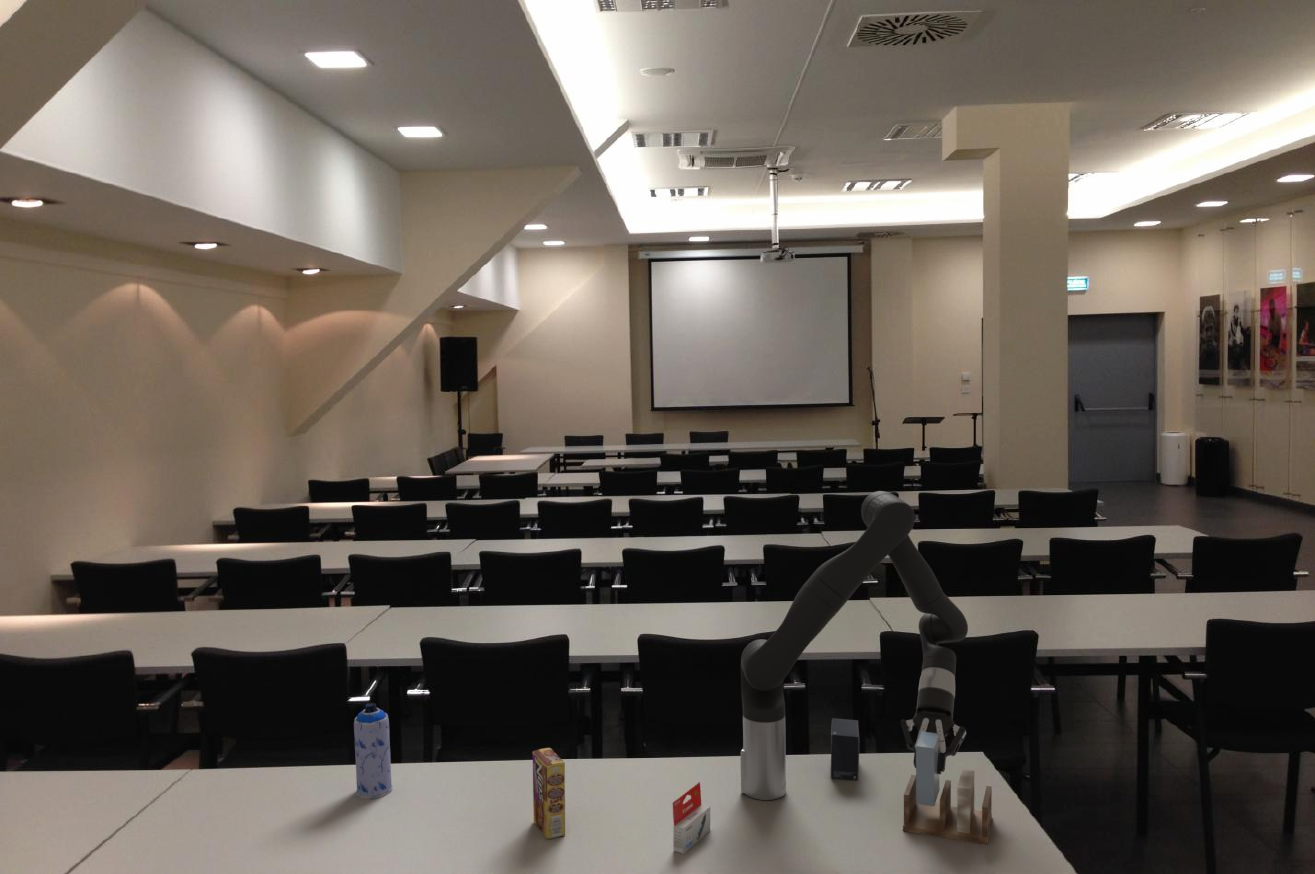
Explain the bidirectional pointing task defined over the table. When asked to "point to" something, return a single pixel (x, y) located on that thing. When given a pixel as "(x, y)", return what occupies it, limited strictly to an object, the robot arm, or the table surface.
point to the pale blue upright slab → (927, 769)
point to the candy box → (549, 792)
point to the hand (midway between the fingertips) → (928, 771)
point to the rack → (950, 812)
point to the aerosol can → (372, 753)
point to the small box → (844, 749)
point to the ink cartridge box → (689, 820)
